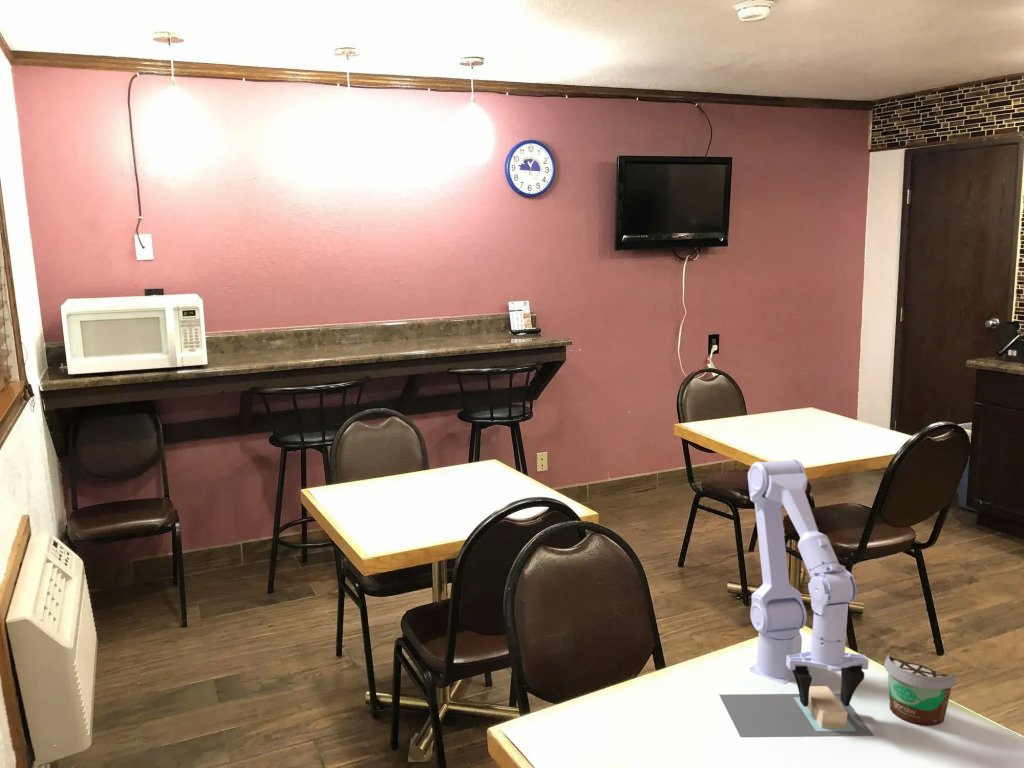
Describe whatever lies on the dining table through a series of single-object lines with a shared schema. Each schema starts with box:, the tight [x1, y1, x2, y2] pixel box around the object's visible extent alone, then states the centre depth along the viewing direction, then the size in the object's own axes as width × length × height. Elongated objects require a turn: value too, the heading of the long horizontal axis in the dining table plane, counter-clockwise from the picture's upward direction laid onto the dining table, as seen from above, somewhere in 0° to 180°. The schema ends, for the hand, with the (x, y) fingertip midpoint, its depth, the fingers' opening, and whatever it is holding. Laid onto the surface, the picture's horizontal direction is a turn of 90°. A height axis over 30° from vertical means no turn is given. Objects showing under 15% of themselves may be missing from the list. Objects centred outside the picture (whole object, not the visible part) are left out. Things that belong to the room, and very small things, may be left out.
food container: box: [883, 652, 958, 727], centre depth 150 cm, size 12×6×10 cm, turn 47°
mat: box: [719, 693, 875, 738], centre depth 151 cm, size 24×14×1 cm, turn 91°
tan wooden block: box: [808, 685, 848, 728], centre depth 151 cm, size 9×4×3 cm, turn 1°
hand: (824, 703), depth 151 cm, fingers open, 7 cm apart
